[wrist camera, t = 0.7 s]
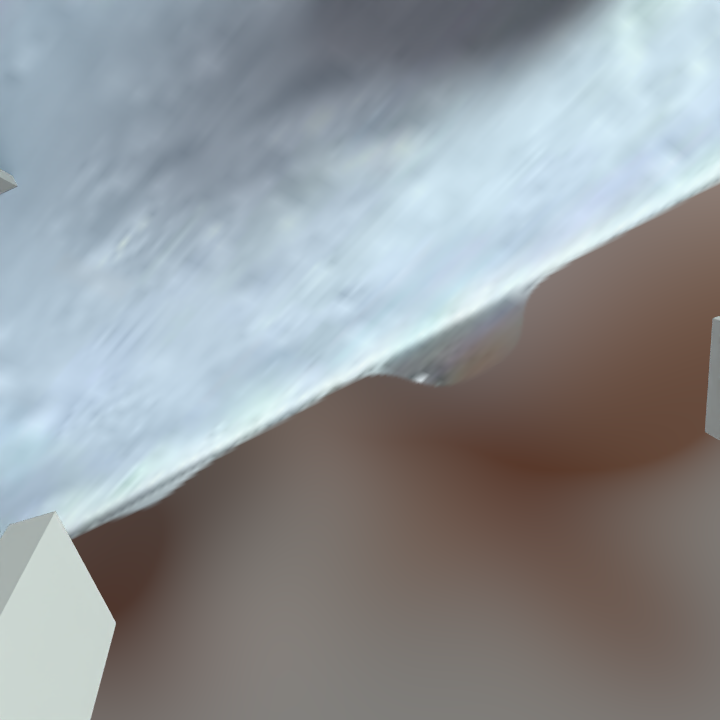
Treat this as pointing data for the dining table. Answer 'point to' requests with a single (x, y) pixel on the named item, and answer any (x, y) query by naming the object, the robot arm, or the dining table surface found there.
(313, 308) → the dining table surface
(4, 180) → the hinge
